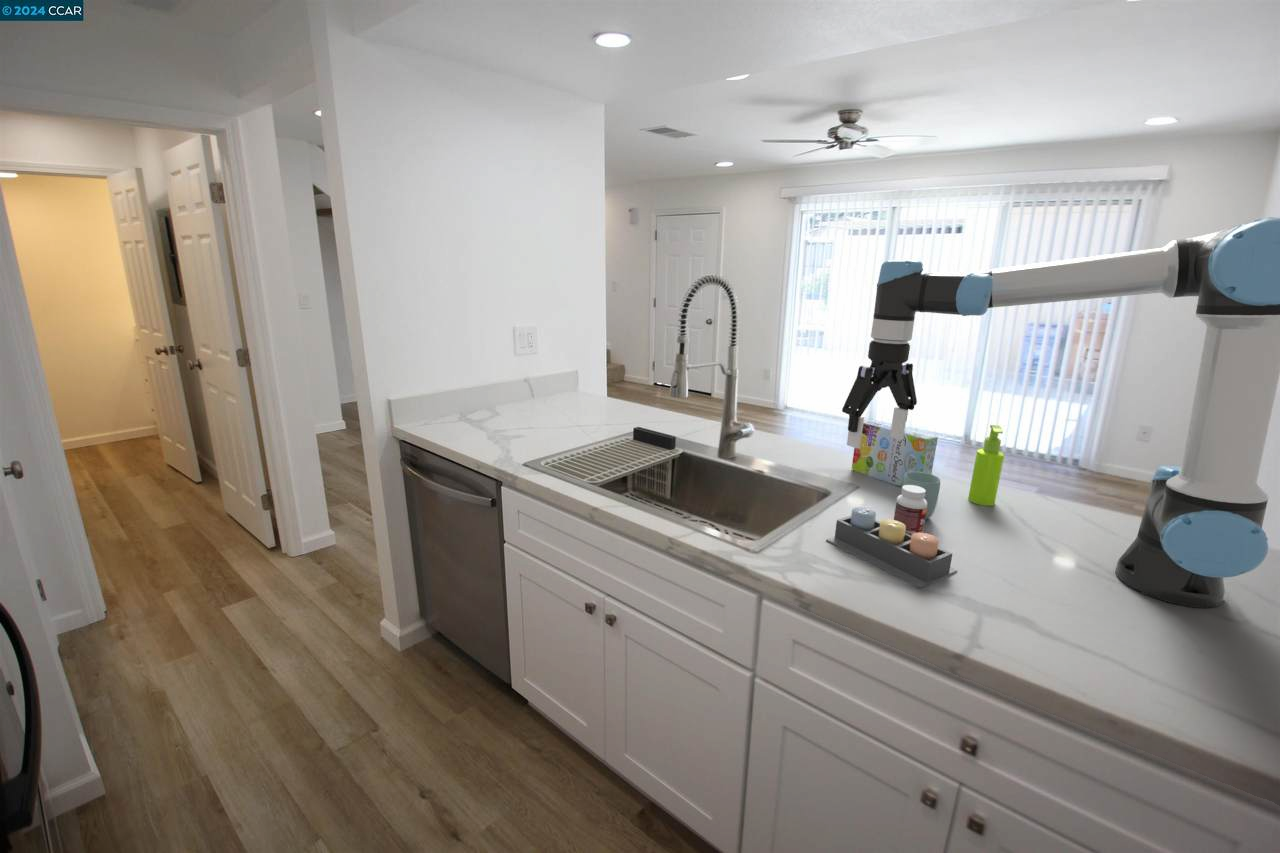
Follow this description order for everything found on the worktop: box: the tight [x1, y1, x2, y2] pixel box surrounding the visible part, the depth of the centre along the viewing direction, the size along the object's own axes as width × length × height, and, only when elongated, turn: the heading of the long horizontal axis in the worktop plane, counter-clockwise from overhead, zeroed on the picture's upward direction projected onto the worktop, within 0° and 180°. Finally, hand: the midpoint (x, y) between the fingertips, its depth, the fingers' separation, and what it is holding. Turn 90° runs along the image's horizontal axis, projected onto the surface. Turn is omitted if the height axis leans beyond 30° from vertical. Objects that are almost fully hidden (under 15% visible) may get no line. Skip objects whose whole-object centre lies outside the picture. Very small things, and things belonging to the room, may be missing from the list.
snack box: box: [851, 419, 939, 488], centre depth 159 cm, size 21×6×15 cm, turn 34°
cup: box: [900, 472, 941, 520], centre depth 136 cm, size 8×8×10 cm
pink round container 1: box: [909, 532, 940, 560], centre depth 111 cm, size 5×5×5 cm
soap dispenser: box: [967, 424, 1005, 507], centre depth 144 cm, size 6×7×20 cm
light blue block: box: [850, 506, 877, 531], centre depth 123 cm, size 5×5×5 cm
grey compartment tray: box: [825, 515, 958, 589], centre depth 118 cm, size 22×12×4 cm, turn 32°
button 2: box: [878, 518, 906, 545], centre depth 117 cm, size 5×5×5 cm
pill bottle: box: [893, 485, 927, 535], centre depth 126 cm, size 6×6×11 cm
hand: (875, 442), depth 121 cm, fingers open, 13 cm apart
